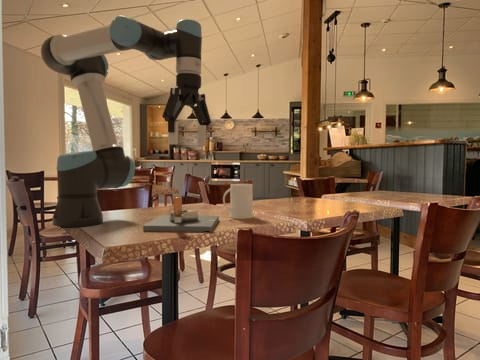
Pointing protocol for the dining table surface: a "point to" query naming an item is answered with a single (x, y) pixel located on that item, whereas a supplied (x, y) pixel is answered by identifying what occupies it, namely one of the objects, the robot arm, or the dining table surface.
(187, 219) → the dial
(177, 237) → the dining table surface
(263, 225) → the dining table surface
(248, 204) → the mug
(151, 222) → the panel
